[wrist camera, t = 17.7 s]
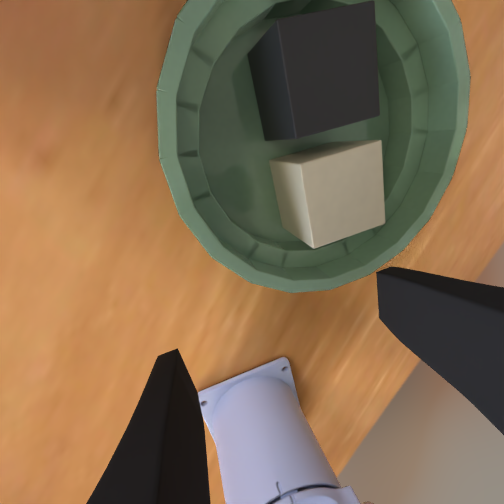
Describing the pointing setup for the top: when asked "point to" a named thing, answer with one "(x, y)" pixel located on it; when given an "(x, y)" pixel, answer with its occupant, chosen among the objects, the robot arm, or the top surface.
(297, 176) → the cream cube
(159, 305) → the top surface
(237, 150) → the bowl
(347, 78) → the black cube
